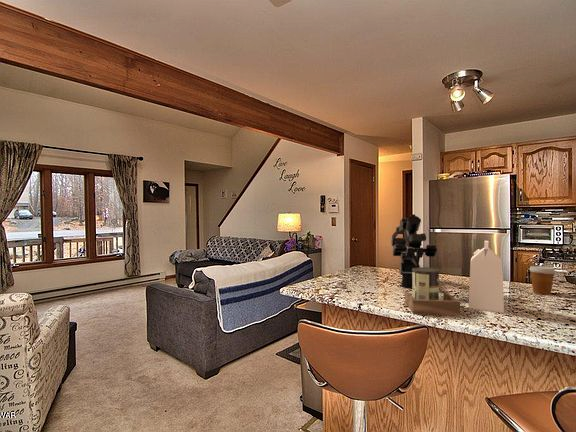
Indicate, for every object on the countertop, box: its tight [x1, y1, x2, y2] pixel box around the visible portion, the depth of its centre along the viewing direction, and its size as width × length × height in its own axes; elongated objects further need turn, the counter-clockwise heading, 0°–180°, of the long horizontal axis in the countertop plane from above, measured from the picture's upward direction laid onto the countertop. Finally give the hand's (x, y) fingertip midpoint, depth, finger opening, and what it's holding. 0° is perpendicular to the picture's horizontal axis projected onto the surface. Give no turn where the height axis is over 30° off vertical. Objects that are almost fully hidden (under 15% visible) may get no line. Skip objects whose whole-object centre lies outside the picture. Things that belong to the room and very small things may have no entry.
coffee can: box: [411, 266, 440, 300], centre depth 132 cm, size 10×10×14 cm
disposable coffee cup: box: [528, 265, 557, 296], centre depth 148 cm, size 10×10×12 cm
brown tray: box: [404, 290, 461, 317], centre depth 125 cm, size 14×16×5 cm
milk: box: [468, 240, 505, 314], centre depth 128 cm, size 12×12×26 cm
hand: (417, 265), depth 145 cm, fingers closed
